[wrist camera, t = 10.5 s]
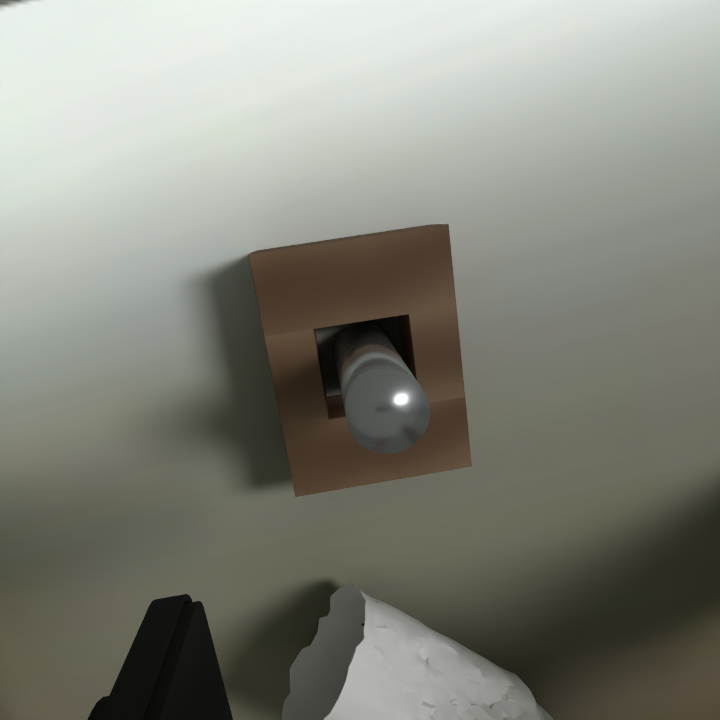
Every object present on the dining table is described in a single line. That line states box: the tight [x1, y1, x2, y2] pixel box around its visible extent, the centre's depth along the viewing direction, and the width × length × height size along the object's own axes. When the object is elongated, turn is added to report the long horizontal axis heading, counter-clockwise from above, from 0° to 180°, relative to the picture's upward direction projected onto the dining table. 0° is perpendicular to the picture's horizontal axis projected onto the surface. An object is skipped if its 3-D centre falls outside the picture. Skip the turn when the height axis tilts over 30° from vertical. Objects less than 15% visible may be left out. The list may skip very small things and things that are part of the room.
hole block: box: [248, 224, 472, 497], centre depth 27 cm, size 12×9×4 cm
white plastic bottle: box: [281, 584, 553, 720], centre depth 30 cm, size 8×19×8 cm, turn 54°
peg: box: [334, 323, 430, 454], centre depth 23 cm, size 3×3×10 cm
